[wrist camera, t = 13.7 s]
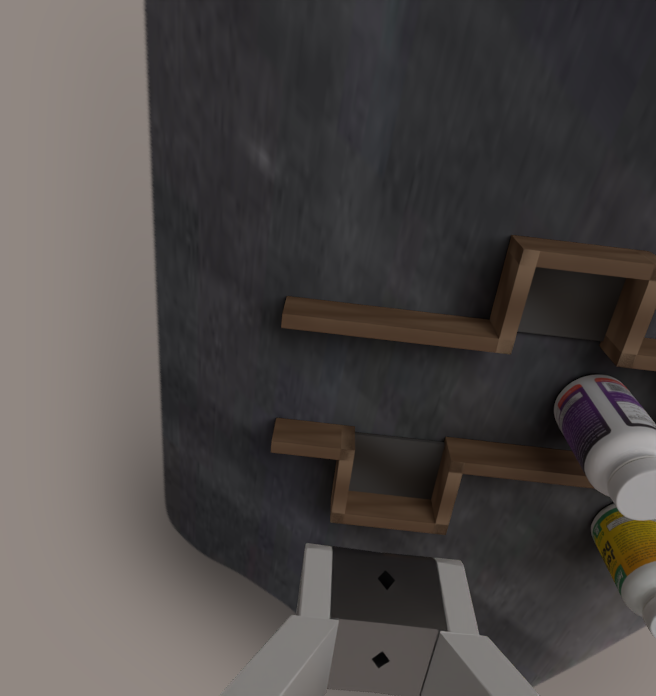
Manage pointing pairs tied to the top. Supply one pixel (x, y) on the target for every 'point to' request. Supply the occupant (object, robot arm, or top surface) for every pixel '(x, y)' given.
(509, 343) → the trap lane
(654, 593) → the supplement bottle
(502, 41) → the top surface
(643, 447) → the pill bottle
